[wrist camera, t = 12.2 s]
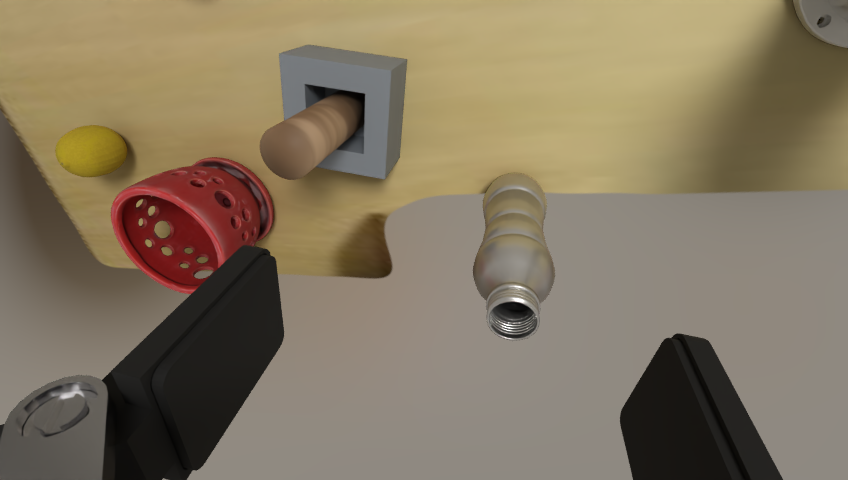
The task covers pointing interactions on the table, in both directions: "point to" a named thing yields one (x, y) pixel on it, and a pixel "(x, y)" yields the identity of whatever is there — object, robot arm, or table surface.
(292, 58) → the socket
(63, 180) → the table surface
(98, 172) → the lemon
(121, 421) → the robot arm
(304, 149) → the peg
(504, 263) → the plastic bottle
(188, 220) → the plant pot
